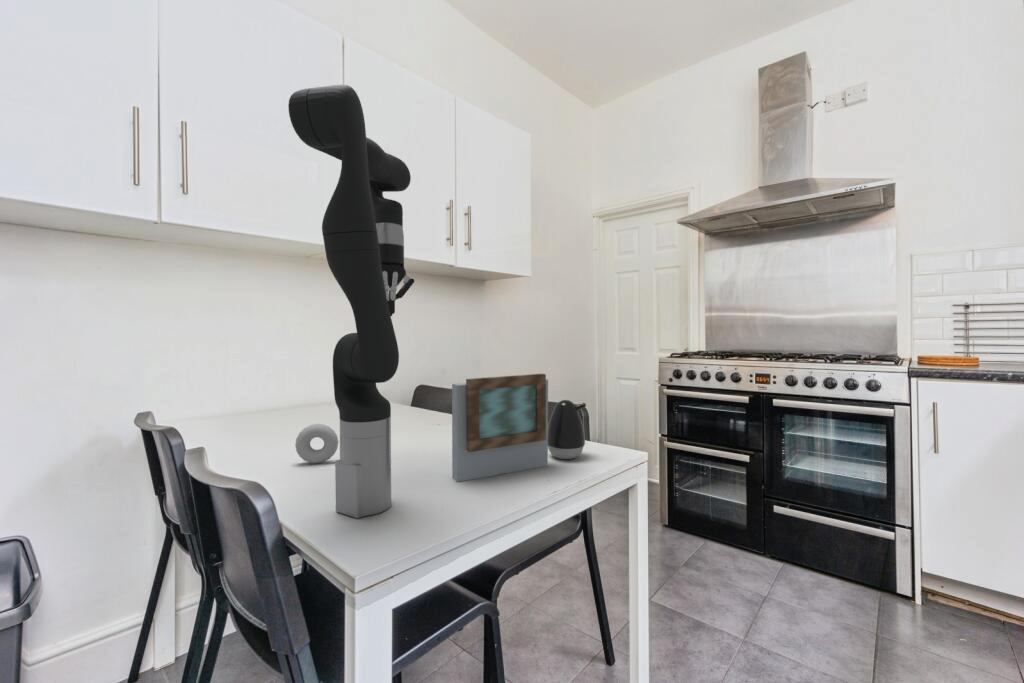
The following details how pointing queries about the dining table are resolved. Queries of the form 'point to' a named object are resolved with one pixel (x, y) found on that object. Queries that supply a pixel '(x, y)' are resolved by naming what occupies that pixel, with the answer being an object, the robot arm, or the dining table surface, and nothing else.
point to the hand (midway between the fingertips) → (388, 316)
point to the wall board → (490, 459)
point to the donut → (311, 454)
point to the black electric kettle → (566, 430)
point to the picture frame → (505, 411)
